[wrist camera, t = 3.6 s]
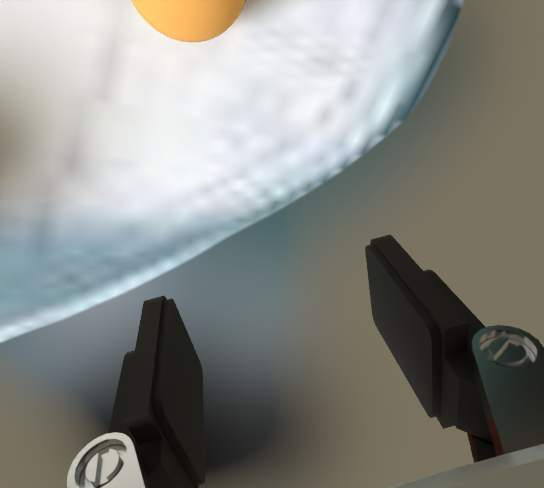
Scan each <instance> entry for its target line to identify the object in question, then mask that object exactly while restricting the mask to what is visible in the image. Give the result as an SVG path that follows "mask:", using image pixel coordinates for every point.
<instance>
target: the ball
mask: <svg viewBox="0 0 544 488" xmlns="http://www.w3.org/2000/svg"><path fill="white" fill-rule="evenodd" d="M131 1H132V3H133V5H134V6H135V8H136V9H137V11H138V12H139V13H140V15H141V16H142V17H143V18H144V19H145V21H147V22H148V23H149V24H150V25H151V26H152V27H153V28H155V29H156V30H157V31H159V32H160V33H162V34H164V35H165V36H167V37H170V38H172V39H175V40H179V41H183V42H202V41H206V40H210V39H213V38H215V37H217V36H219V35H220V34H222V33H223V32H224V31H226V30H227V29H228V28H229V27H230V26H231V25H232V24H233V23H234V21H235V20H236V19H237V17H238V16H239V14H240V13H241V11H242V8H243V6H244V4H245V1H246V0H131Z"/></svg>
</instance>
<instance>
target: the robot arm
mask: <svg viewBox="0 0 544 488" xmlns="http://www.w3.org/2000/svg"><path fill="white" fill-rule="evenodd" d="M365 250H366V261H367V270H368V279H369V289H370V298H371V306H372V315H373V319H374V322H375V325H376V327H377V328H378V330H379V332H380V334H381V335H382V337H383V338H384V341H385V342H386V344H387V346H388V347H389V349H390V351H391V353H392V354H393V356H394V358H395V359H396V361H397V363H398V364H399V366H400V368H401V370H402V371H403V373H404V375H405V377H406V378H407V380H408V382H409V384H410V385H411V387H412V389H413V390H414V392H415V394H416V396H417V397H418V399H419V401H420V403H421V404H422V406H423V408H424V409H425V411H426V413H427V414H428V416H429V417H430V418H432V417H437V419H438V421H439V422H440V424H441V426H442V427H443V428H447V427H451V426H454V425H455V426H456V427H457V429H460V430H462V431H465V432H467V436H468V440H469V444H470V449H471V453H472V457H473V461H474V463H473V464H469V465H466V466H462V467H459V468H455V469H452V470H448V471H445V472H441V473H438V474H434V475H431V476H427V477H424V478H420V479H417V480H414V481H410V482H406V483H403V484H400V485H396V486H393V487H389V488H544V347H543V345H542V344H541V343H540V342H539V340H538V339H537V338H535V337H534V336H533V335H531V334H530V333H528V332H526V331H524V330H522V329H519V328H516V327H511V326H505V325H495V326H488V327H485V326H484V325H483V324H482V323H481V322H480V321H479V320H478V319H477V317H476V316H475V315H474V314H473V313H472V312H471V311H470V310H469V309H468V308H467V307H466V306H465V304H464V303H463V302H462V301H461V300H460V299H459V298H458V297H457V296H456V295H455V294H454V293H453V292H452V291H451V289H450V288H449V287H448V286H447V285H446V284H445V283H444V282H443V281H442V280H441V279H440V278H439V277H438V276H437V274H436V273H435V272H433V271H432V270H426V271H423V270H422V269H421V268H420V267H419V266H418V265H417V264H416V262H415V261H414V260H413V259H412V258H411V257H410V256H409V255H408V253H407V252H406V251H405V250H404V249H403V248H402V247H401V246H400V244H399V243H398V242H397V241H396V240H395V239H394V238H393V237H392V236H391V235H386V236H383V237H379V238H376V239H372V240H371V244H370V245H368V246H366V248H365ZM204 456H205V454H204V406H203V372H202V366H201V363H200V360H199V358H198V356H197V353H196V351H195V349H194V346H193V344H192V342H191V339H190V337H189V335H188V332H187V330H186V328H185V326H184V323H183V321H182V318H181V316H180V314H179V311H178V309H177V307H176V304H175V302H174V300H173V299H169V300H167V299H166V297H165V296H161V297H157V298H153V299H150V300H146V301H144V304H143V309H142V315H141V320H140V326H139V332H138V337H137V342H136V348H135V351H131V352H127V353H126V355H125V357H124V360H123V365H122V370H121V375H120V380H119V384H118V389H117V394H116V399H115V404H114V408H113V413H112V418H111V423H110V427H109V432H108V434H105V435H103V436H101V437H98V438H96V439H95V440H93V441H92V442H90V443H89V444H88V445H86V446H85V447H84V448H83V449H82V450H81V451H80V453H79V454H78V455H77V457H76V458H75V459H74V461H73V462H72V465H71V467H70V470H69V472H68V479H67V488H198V485H200V484H203V483H204V482H205V457H204Z"/></svg>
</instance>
